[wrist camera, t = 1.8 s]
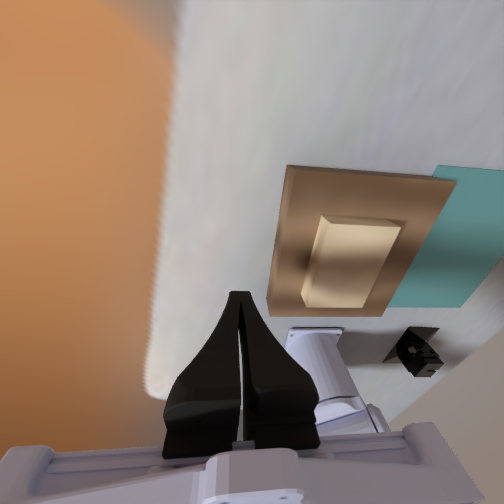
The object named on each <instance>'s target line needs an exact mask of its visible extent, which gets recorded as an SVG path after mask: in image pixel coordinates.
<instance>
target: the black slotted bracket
mask: <svg viewBox="0 0 504 504" xmlns="http://www.w3.org/2000/svg"><path fill="white" fill-rule="evenodd" d="M439 329H440V328H432V327H408V328H407V330H406V331H405V332H404V334H403V335H402V336H401V338H400V339H399V340H398V342H397V343H396V344H395V346H394V347H393V349H392V350H391V351H390V353H389V354H388V355H387V357H386V358H385V359H384V361H383V362H382V363H403V365H404V366H405V368H406V369H407V370H408V372H411V373H412V375H413V376H414V377H431V376H432V375H433V374H434V373H435V372H436V371H435V370H438V369H439V368H440V367H441V366H442V365H443V364H444V363H443V362H442V361H441V360H440V359H439V357H440V356H439V355H438V354H437V353H436V352H435V351H434V350H433V349H432V348H431V347H430V345H429V344H428V343H427V342H428V341H429V340H430V339H431V338H432V337H433V335H434V334H435V333H436V332H437V331H438V330H439Z"/></svg>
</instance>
